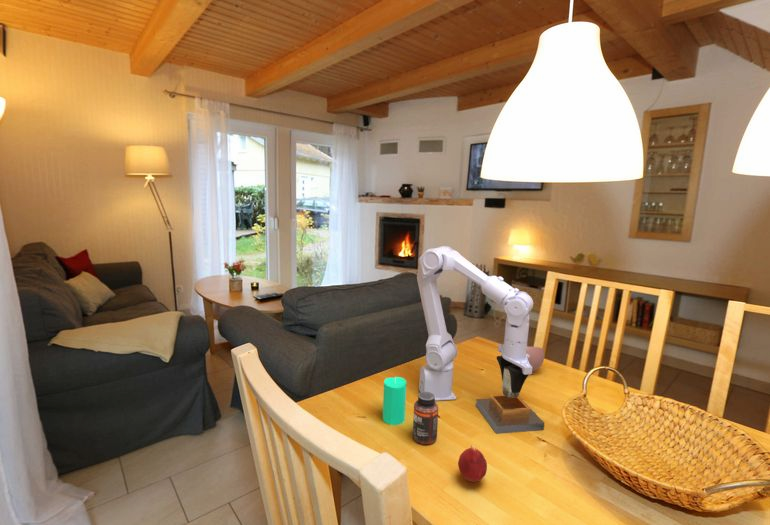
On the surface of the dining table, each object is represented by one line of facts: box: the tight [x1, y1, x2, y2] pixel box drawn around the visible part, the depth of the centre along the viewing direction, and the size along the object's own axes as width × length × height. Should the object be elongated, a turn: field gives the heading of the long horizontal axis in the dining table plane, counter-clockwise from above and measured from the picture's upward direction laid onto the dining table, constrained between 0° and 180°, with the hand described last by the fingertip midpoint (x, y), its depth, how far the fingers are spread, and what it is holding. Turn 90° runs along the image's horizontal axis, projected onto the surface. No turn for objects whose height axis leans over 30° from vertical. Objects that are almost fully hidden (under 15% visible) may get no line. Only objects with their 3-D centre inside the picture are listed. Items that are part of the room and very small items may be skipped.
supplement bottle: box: [412, 392, 439, 445], centre depth 93 cm, size 6×6×11 cm
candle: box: [382, 376, 407, 426], centre depth 101 cm, size 6×6×12 cm
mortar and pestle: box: [526, 345, 545, 373], centre depth 132 cm, size 12×12×12 cm
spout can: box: [501, 365, 520, 398], centre depth 102 cm, size 6×4×7 cm
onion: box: [457, 444, 488, 483], centre depth 80 cm, size 6×6×8 cm
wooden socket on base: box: [475, 394, 545, 435], centre depth 104 cm, size 13×13×4 cm
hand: (511, 387), depth 103 cm, fingers closed on spout can, 4 cm apart
